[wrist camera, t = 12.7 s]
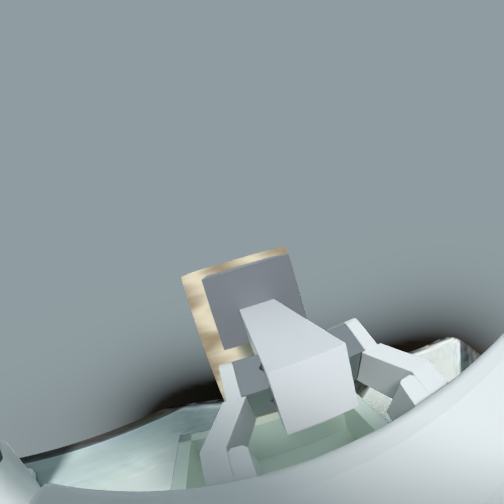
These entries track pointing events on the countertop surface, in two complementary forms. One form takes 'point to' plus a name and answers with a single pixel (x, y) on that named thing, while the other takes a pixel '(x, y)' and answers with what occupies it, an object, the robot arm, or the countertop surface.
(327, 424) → the bin
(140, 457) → the countertop surface
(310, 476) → the robot arm
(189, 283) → the stand
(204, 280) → the gray mallet
